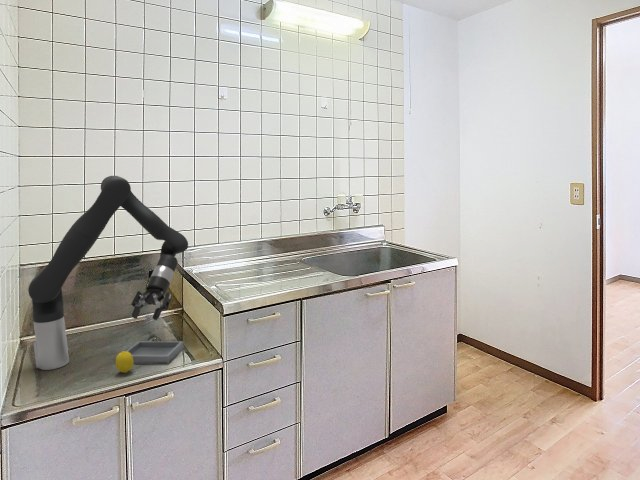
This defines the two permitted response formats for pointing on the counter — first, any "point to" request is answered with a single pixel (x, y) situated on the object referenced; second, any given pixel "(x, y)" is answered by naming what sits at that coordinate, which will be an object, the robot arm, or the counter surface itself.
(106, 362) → the counter surface
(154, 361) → the tray
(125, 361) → the lemon
